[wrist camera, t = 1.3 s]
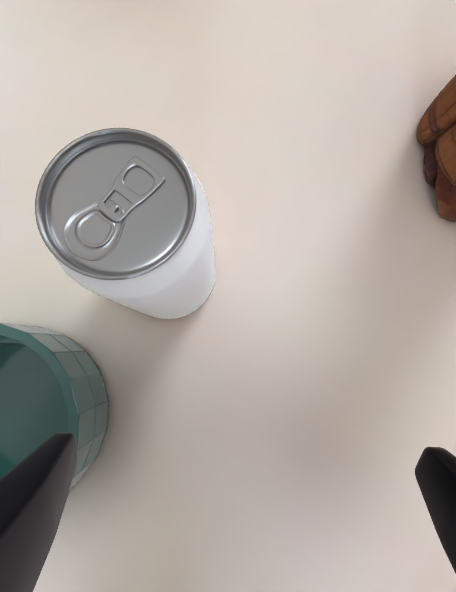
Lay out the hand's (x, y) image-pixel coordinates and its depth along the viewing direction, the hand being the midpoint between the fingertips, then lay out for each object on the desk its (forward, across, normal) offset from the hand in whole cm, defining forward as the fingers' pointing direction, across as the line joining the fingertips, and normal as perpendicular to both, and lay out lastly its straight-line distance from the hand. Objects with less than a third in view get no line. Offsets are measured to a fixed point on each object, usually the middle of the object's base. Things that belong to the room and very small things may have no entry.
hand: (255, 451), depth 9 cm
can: (+16, +4, +2) cm, 17 cm away
